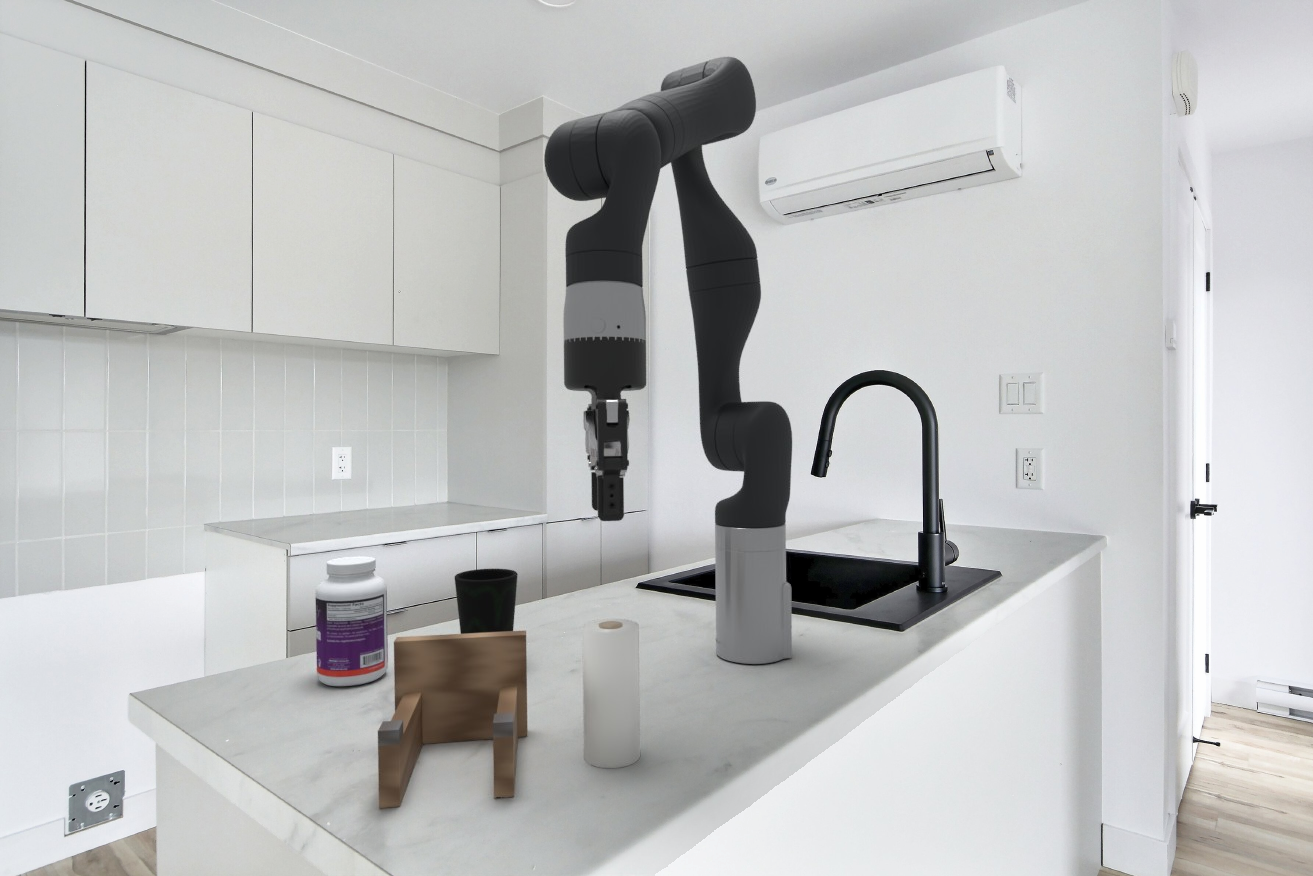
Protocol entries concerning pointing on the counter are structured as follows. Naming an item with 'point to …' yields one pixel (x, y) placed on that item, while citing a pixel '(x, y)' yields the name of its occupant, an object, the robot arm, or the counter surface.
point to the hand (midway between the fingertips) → (606, 514)
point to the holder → (454, 703)
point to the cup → (486, 600)
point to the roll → (611, 692)
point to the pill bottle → (351, 623)
